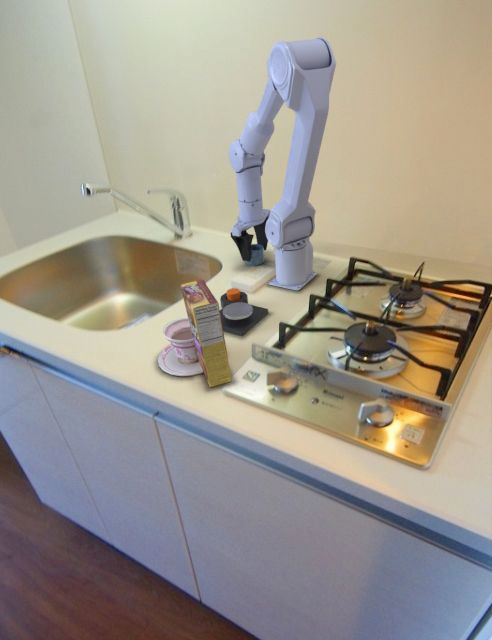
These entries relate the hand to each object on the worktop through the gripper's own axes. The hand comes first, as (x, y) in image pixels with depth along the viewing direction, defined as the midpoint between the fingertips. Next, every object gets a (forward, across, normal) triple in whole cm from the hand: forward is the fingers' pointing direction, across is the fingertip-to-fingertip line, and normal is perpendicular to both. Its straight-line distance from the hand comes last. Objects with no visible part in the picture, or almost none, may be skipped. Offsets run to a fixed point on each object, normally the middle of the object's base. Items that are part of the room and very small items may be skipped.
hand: (254, 255), depth 109 cm
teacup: (+2, +42, +12) cm, 44 cm away
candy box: (+2, +43, +19) cm, 47 cm away
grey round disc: (-1, +28, +14) cm, 31 cm away
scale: (+2, +26, +13) cm, 29 cm away
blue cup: (+2, 0, 0) cm, 2 cm away
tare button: (-1, +23, +10) cm, 25 cm away
